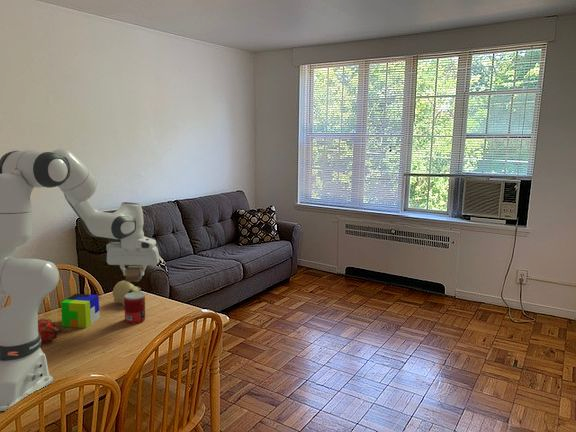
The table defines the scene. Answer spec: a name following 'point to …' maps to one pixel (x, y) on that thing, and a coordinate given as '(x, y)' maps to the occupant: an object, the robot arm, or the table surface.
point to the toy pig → (123, 290)
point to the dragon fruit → (47, 330)
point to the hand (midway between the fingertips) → (133, 275)
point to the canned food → (134, 307)
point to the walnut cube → (133, 273)
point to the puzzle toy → (80, 310)
